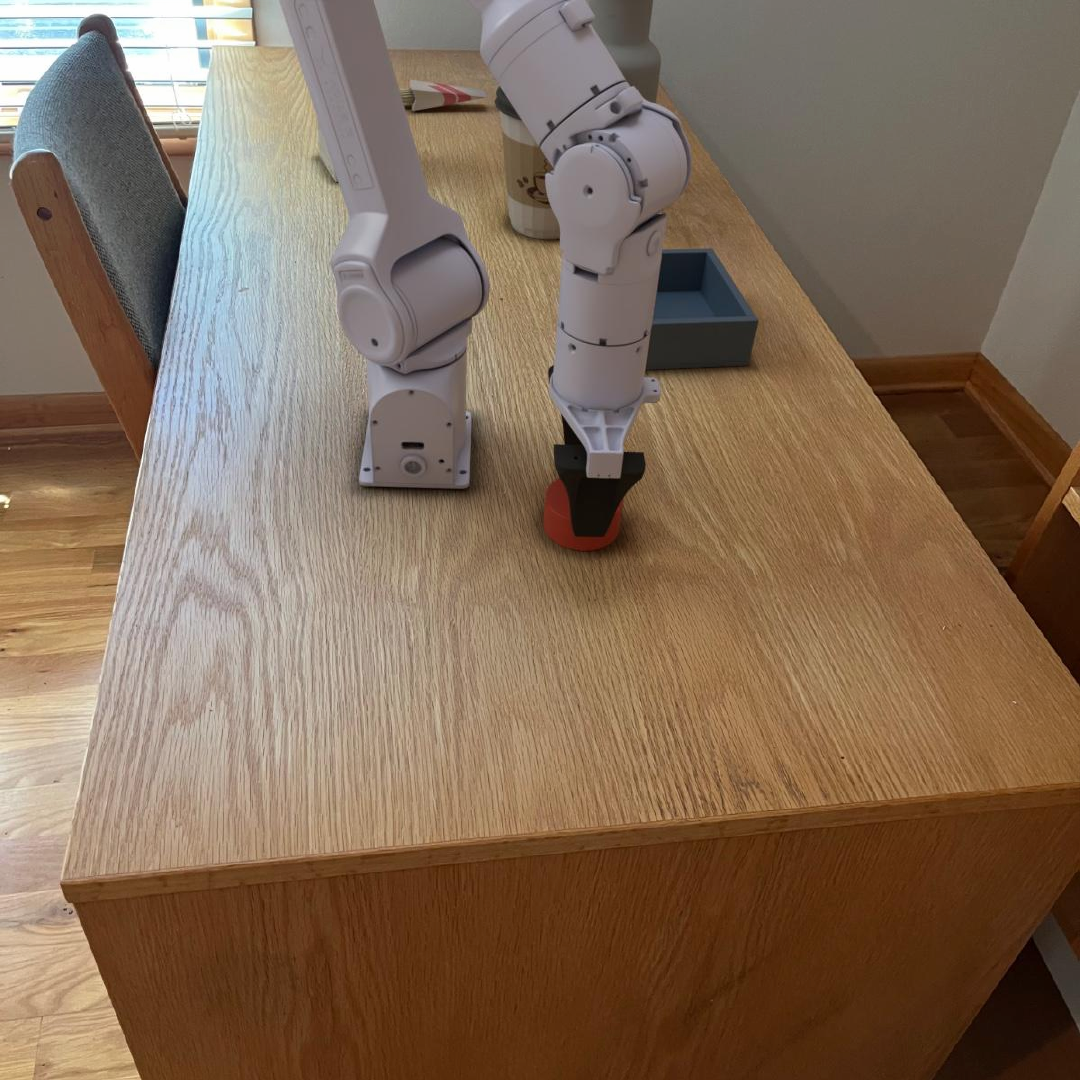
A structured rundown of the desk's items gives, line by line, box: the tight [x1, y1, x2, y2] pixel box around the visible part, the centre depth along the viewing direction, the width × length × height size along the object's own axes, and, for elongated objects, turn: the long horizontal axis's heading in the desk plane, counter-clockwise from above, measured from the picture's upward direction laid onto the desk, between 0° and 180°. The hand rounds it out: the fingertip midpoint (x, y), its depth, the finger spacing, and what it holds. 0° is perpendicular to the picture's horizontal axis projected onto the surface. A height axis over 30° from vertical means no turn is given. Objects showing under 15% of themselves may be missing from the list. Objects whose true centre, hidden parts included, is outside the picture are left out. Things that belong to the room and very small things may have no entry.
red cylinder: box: [542, 477, 624, 552], centre depth 72 cm, size 5×5×3 cm
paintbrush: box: [399, 79, 488, 112], centre depth 132 cm, size 4×3×20 cm
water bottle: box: [588, 0, 662, 104], centre depth 108 cm, size 10×10×28 cm
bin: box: [645, 247, 760, 371], centre depth 93 cm, size 14×13×4 cm
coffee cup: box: [493, 85, 560, 240], centre depth 104 cm, size 11×11×15 cm
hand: (585, 497), depth 71 cm, fingers open, 7 cm apart
